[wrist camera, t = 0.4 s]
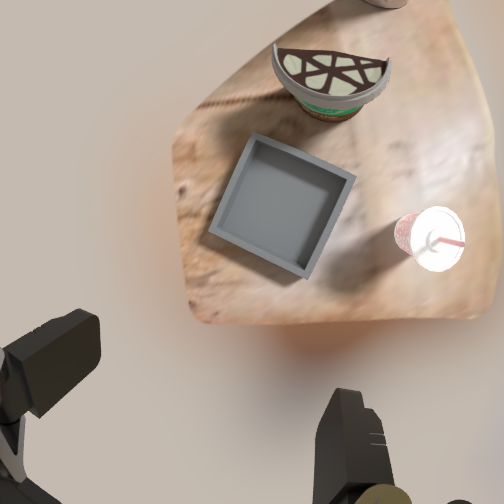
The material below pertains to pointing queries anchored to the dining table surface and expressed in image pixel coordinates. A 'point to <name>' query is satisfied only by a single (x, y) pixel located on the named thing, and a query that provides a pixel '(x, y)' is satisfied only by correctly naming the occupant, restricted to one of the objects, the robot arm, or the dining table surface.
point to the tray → (281, 204)
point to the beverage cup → (431, 237)
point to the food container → (330, 81)
